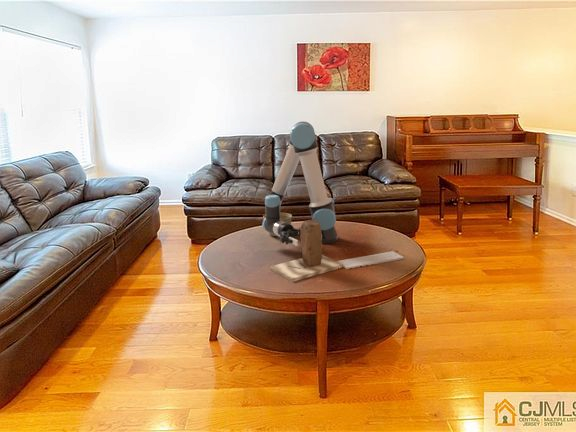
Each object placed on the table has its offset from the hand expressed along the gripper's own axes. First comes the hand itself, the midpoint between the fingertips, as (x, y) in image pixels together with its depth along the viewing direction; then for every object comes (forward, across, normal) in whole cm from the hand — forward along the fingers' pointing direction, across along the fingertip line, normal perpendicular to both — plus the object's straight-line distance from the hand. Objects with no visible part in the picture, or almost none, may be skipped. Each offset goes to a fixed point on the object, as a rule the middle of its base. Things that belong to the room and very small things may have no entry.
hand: (309, 240), depth 212 cm
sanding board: (+2, +4, -12) cm, 13 cm away
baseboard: (+12, -26, -13) cm, 31 cm away
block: (+2, +1, -11) cm, 11 cm away
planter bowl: (-50, -15, -12) cm, 54 cm away
